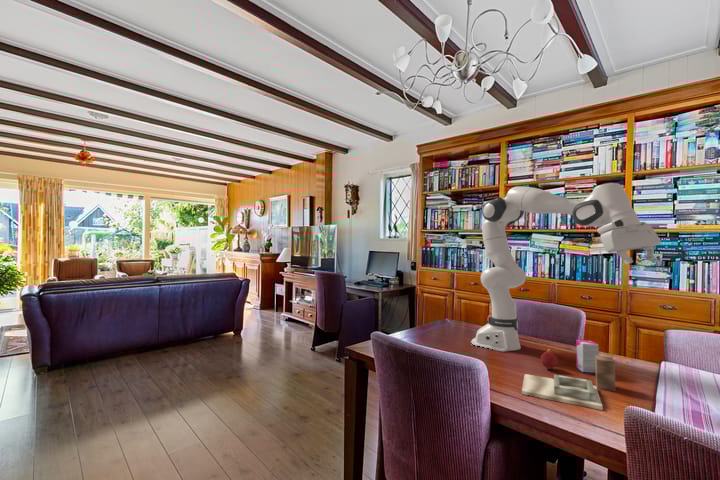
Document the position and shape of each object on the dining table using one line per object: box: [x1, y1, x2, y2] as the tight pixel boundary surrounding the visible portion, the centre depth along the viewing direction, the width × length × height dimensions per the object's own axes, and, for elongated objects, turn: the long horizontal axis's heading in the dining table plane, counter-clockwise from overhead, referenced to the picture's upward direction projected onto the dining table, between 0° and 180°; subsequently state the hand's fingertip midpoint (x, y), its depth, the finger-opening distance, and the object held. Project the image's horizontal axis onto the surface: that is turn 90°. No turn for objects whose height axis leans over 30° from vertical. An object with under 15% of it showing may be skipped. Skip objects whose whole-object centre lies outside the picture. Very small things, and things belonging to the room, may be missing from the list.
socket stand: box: [521, 373, 604, 411], centre depth 112 cm, size 22×16×4 cm
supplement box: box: [575, 339, 600, 375], centre depth 130 cm, size 6×6×12 cm
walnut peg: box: [594, 355, 616, 392], centre depth 115 cm, size 5×5×10 cm
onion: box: [540, 348, 559, 370], centre depth 132 cm, size 6×6×8 cm
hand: (640, 261), depth 112 cm, fingers open, 8 cm apart
